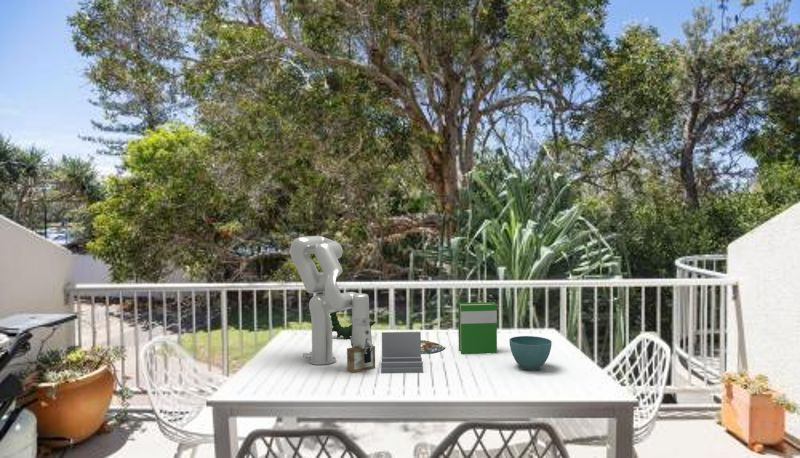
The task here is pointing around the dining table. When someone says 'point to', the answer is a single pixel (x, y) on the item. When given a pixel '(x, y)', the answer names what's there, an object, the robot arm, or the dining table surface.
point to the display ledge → (401, 352)
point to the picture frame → (359, 360)
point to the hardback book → (477, 327)
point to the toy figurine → (343, 331)
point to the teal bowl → (530, 351)
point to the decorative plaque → (430, 347)
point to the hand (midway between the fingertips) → (361, 360)
